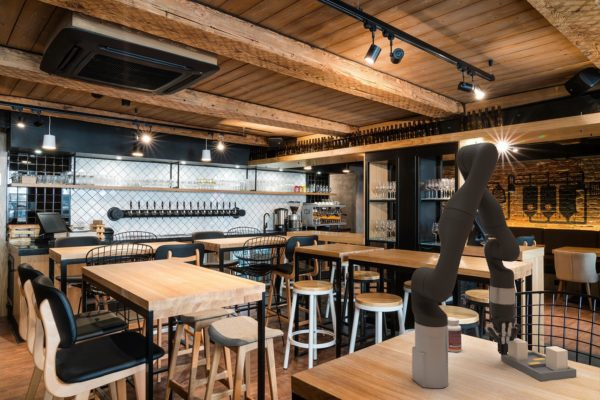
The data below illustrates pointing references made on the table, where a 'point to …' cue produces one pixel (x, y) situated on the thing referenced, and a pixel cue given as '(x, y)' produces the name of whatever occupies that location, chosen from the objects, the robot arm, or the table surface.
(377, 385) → the table surface
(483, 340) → the table surface
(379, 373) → the table surface
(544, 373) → the switch board
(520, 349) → the tab left
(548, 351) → the tab right
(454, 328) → the pill bottle
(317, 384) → the table surface
